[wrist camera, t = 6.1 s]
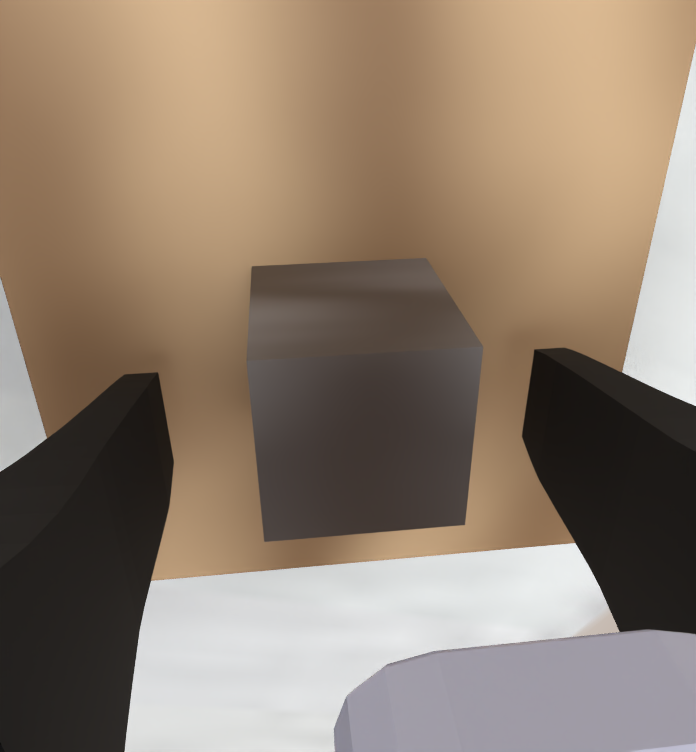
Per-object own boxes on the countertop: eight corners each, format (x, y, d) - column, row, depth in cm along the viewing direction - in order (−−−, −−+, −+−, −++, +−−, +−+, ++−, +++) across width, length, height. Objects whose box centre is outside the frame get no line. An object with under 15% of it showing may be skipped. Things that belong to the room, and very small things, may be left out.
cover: (98, 557, 17) (42, 739, 13) (-56, -10, 11) (-265, -23, 7) (569, 517, 18) (661, 672, 14) (677, -17, 12) (907, -32, 8)
